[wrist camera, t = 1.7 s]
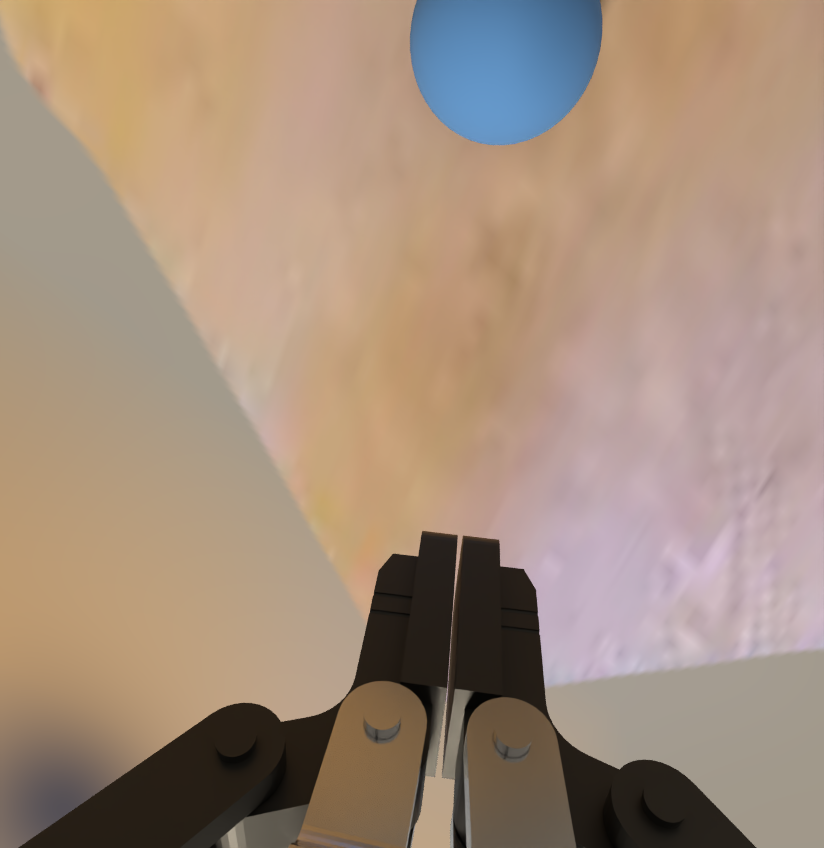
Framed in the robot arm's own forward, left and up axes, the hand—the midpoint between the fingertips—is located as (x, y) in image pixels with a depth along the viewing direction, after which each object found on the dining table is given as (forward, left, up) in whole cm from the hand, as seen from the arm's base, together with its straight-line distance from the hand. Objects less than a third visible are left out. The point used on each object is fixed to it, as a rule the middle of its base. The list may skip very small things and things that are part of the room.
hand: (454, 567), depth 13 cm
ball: (-10, 0, -14) cm, 17 cm away
